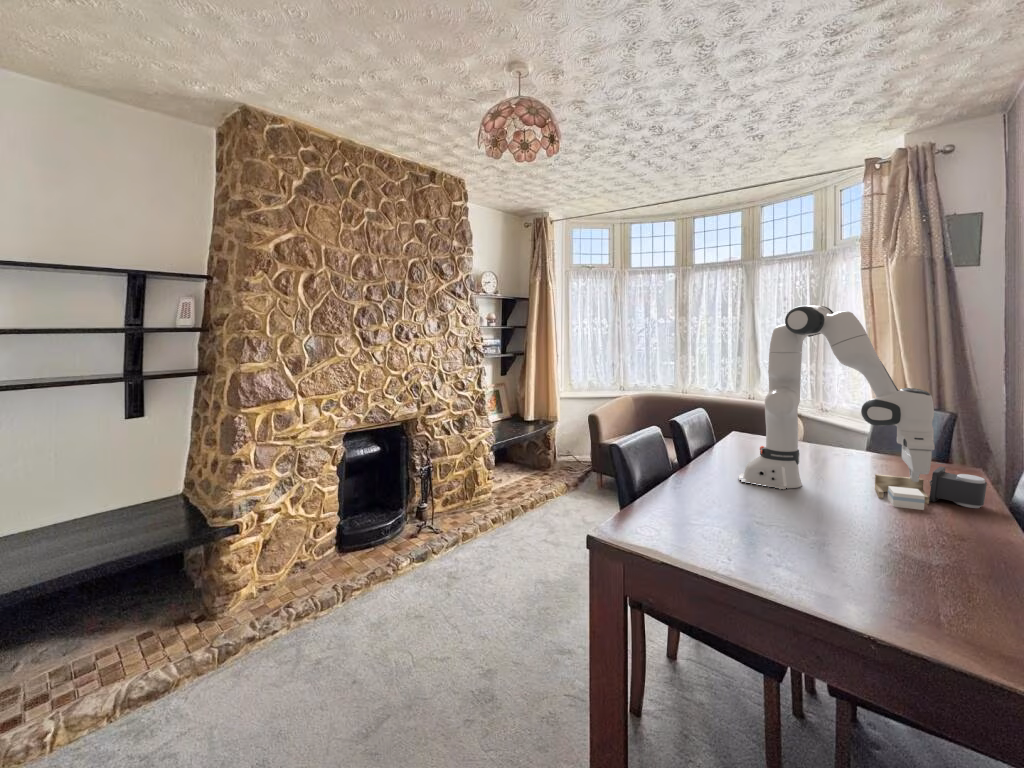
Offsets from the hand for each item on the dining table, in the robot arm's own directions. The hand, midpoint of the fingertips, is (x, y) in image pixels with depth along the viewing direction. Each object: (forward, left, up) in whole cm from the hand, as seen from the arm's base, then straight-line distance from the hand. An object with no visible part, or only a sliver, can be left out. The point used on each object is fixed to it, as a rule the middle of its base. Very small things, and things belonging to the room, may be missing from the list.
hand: (914, 480), depth 146 cm
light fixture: (+14, +18, -11) cm, 26 cm away
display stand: (-1, +17, -11) cm, 20 cm away
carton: (-1, +9, -11) cm, 14 cm away
